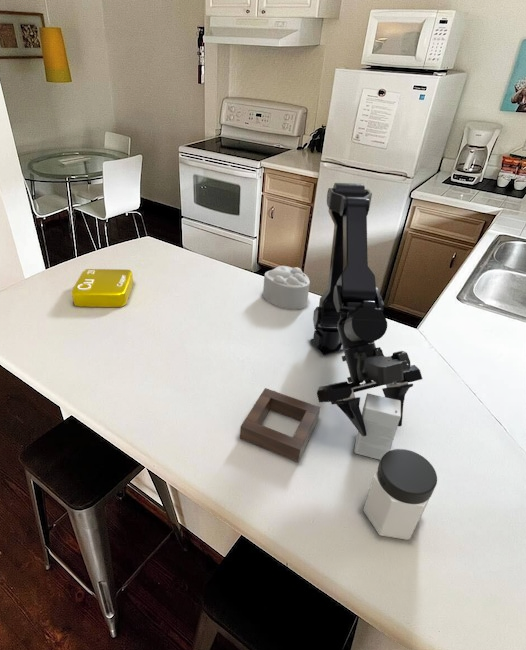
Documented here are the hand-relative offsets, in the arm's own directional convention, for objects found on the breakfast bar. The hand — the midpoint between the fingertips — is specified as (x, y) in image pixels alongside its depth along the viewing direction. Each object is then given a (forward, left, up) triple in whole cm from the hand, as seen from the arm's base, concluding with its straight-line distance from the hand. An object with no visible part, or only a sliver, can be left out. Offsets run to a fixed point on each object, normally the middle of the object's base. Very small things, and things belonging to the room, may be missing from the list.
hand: (381, 431), depth 79 cm
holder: (+13, -12, -7) cm, 19 cm away
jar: (+5, +11, -7) cm, 14 cm away
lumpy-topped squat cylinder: (-12, -55, -7) cm, 57 cm away
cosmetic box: (0, -1, -7) cm, 7 cm away
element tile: (+36, -78, -7) cm, 86 cm away
